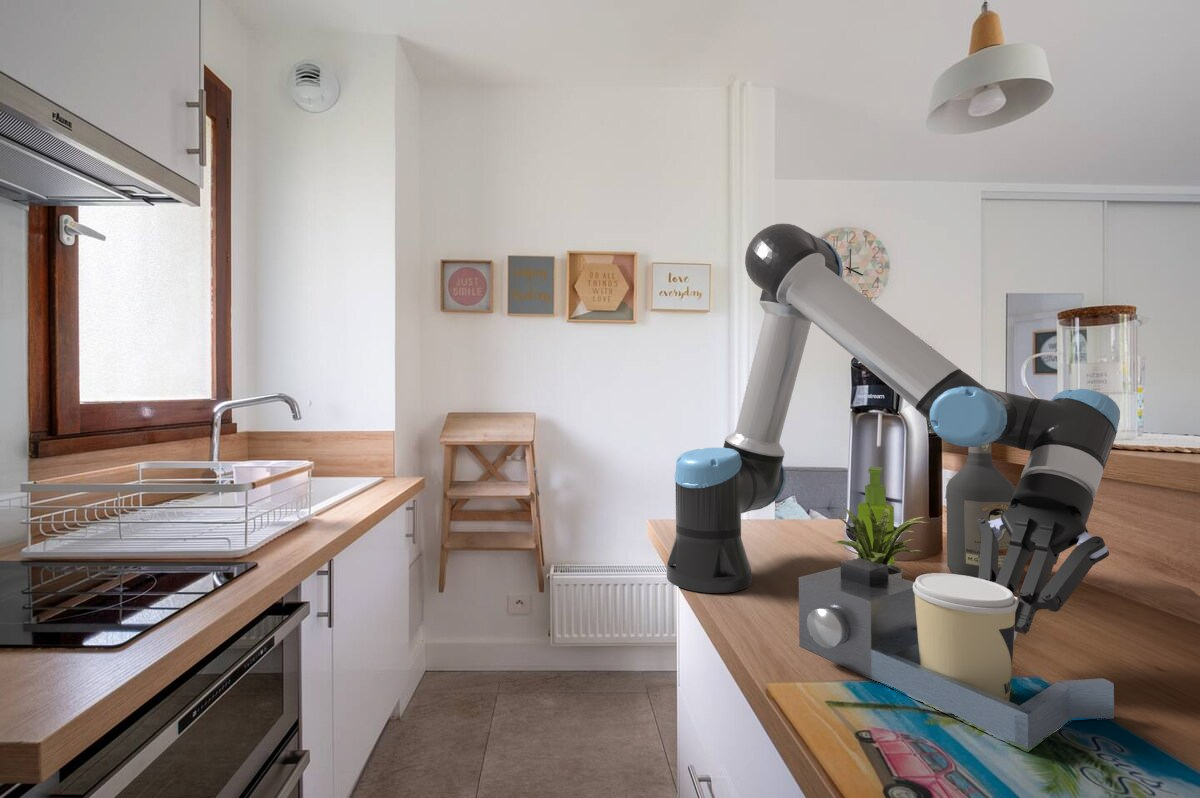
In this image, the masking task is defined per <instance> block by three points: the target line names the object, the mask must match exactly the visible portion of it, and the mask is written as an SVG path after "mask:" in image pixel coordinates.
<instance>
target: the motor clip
mask: <svg viewBox="0 0 1200 798" xmlns="http://www.w3.org/2000/svg"><path fill="white" fill-rule="evenodd" d="M914 582H915V581H912V580H907V579H904V578H903V577H902V578H898V577H894V576H891V575H888V565H884V564H880V563H876V562H873V561H869V560H865V559H861V558H858V557H857V558H854V559H849V560H846V561H841V562H840V566H838V567H834V568H830V569H826V570H822V571H818V572H815V573H810V574H806V575H803V576H799V577H798V621H799V622H798V625H799V626H798V627H799V628H798V632H799V633H798V634H799V635H798V636H799V642H798V643H799V644H798V645H799V647H801V648H803V649H805V650H807V651H809V652H812V653H813V654H816V655H818V656H821V657H822V658H825V659H827V660H829V661H831V662H833V663H834V664H837V665H839V666H841V667H843V668H845V669H848V670H850V671H852V672H854V673H857V674H859V675H860V676H863V677H865V678H867V679H868V680H871V679H872V680H871V681H873V680H876V681H878V682H881V683H884V684H887V685H889V686H891V687H894V688H896V689H898V690H900V691H902V692H906V693H908V694H910V695H912V696H914V697H916V698H918V699H921V700H923V701H925V702H927V703H929V704H932V705H934V706H936V707H938V708H942V709H943V710H945V711H947V712H950V713H952V714H954V715H955V716H958V717H960V718H962V719H964V720H966V721H967V722H970V723H971V724H974V725H975V726H977V727H980V728H982V729H985V730H986V731H989V732H991V733H993V734H996V735H998V736H1000V737H1003V738H1006V739H1008V740H1010V741H1013V742H1016V743H1017V744H1020V745H1021V746H1023V747H1025V748H1026V749H1029V748H1031V747H1032V746H1034V745H1035V744H1036V743H1038V742H1039V741H1040V740H1041V739H1043V738H1045V737H1046V736H1048V735H1049V734H1051V733H1052V732H1054V731H1056V730H1057V729H1059V728H1060V727H1061V726H1062V725H1063V724H1065V723H1066V722H1067V721H1068V720H1070V719H1073V718H1074V719H1075V718H1085V717H1086V718H1101V719H1100V720H1109V719H1115V687H1114V686H1115V683H1114V682H1112V681H1110V680H1108V679H1105V678H1104V677H1103V678H1102V677H1101V678H1089V679H1088V678H1087V679H1084V678H1083V679H1071V680H1069V679H1068V680H1059V681H1056V682H1055V683H1053V684H1051V685H1050V686H1048V687H1047V688H1045V689H1044V690H1042V691H1041V692H1039V693H1037V694H1036V695H1034V696H1033V697H1031V698H1029V699H1028V700H1027V701H1025V702H1023V703H1022V704H1020V705H1018V704H1016V703H1014V702H1012V701H1010V700H1009V701H1007V700H1004V699H1002V698H999V697H997V696H994V695H992V694H989V693H987V692H985V691H982V690H980V689H977V688H975V687H972V686H970V685H967V684H965V683H963V682H960V681H958V680H955V679H953V678H950V677H948V676H946V675H943V674H941V673H938V672H936V671H933V670H931V669H928V668H926V667H924V666H921V665H920V655H919V644H918V632H917V620H916V608H915V593H914V591H913V583H914ZM878 682H877V683H878ZM1102 718H1103V719H1102ZM1104 718H1105V719H1104Z"/></svg>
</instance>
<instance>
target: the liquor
mask: <svg viewBox="0 0 1200 798" xmlns="http://www.w3.org/2000/svg"><path fill="white" fill-rule="evenodd" d="M967 454H968V456H967V459H966V465H964V466H963V467H962V468H961V469H960V470H959V471H958V472H956V474H955V475H954V476H952V477H951V478H950V479H949V480H948V482H947V484H946V486H945V487H946V488H945V489H946V490H945V491H946V492H945V493H946V494H945V495H946V496H945V497H946V507H945V508H946V566H947V568H948V570H949V571H950V572H951V573H952V574H957V575H964V576H970V577H975V578H978V575H979V562H980V548H981V534H982V532H981V530H980V528H979V526H978V523H977V520H978V519H980V518H985V519H987V520H988V521H991V520H995V519H999V518H1001V515H1002V514H1003V513H1004V512H1005V511H1006V510H1008V509H1009V507H1010V504H1011V499H1012V497H1013V494H1014V492H1015V489H1016V487H1015V485H1014V484H1013V483H1012V482H1011V481H1010V480H1009V479H1008V478H1007V476H1005V475H1004V474H1003V473H1002V472H1001V471H1000V470H999V469H998V468H997V467H995V465H994V460H993V457H992V442H990V443H988V444H986V445H984V446H979V447H968V453H967ZM1010 538H1011V537H1010V535H1009V533H1008V532H1007V530H1006V528H1005V529H1003V530H1002V535H1001V538H1000V539H998V543H999V556H998V574H999V572H1000V569H1001V566H1002V564H1003V561H1004V559H1005V556H1006V554H1007V551H1008V549H1009V546H1010ZM997 577H998V576H997Z"/></svg>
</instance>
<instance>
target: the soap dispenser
mask: <svg viewBox="0 0 1200 798" xmlns="http://www.w3.org/2000/svg"><path fill="white" fill-rule="evenodd" d="M881 472H883V467H881V466H869V468H868V473H869V483H868V484H866V485H864V502H859V503H858V504H857V518H858V519H859V521H860V523H861V521H862V519H863V521H864V523H865V525H866V529H867V532H868V535H869V538H870V542H871V546H872V549H873V541H874V538H873V532H872V522H871V519H870V517H869V516H867V515H870V511H869V507H868V504H869V505H870V506H871V508H872V511H873V513H874V515H875V518H876V521H877V524H878V522H879V520H880V518H881V516H882V515H883V513H884V509H885V507H886V504H887V506H888V510H889V511H890V514H889V521H890V523H889V526H888V528H887V531H886V532H888V531H891V530H895V526H894V525H895V523H894V522H895V520H894V518H895V516H894V515H895V514H894V513H895V512H894V511H895V510H894V509H895V508H894V506H893V505H891V504H888V503H887V502H886V501H887V498H886V496H887V493H886V486H884V485H883V484H881ZM867 502H868V503H867ZM891 534H892V533H891ZM891 534H889V535H886V536H885V538H884V542H885V541H887V540H888V538H889V537H890V536H891ZM894 538H895V537H894ZM894 538H893V539H894ZM892 541H893V540H892ZM894 545H895V544H894ZM894 545H893V546H894ZM889 546H890V545H889ZM889 546H888V547H889ZM888 547H887V549H888ZM887 549H886V550H887ZM885 552H886V551H885ZM884 554H885V553H884ZM857 558H861V557H860V555H859V554H858V553H857ZM888 564H892V565H894V566H895V554H894V555H893V556H892V557H891V559H890V560H889V562H888Z"/></svg>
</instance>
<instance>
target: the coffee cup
mask: <svg viewBox="0 0 1200 798" xmlns="http://www.w3.org/2000/svg"><path fill="white" fill-rule="evenodd" d="M913 582H914V583H913V591H914V593H915V608H916V620H917V632H918V644H919V655H920V665H921V666H924V667H926V668H928V669H931V670H933V671H936V672H938V673H941V674H943V675H946V676H948V677H950V678H953V679H955V680H958V681H960V682H963V683H965V684H967V685H970V686H972V687H975V688H977V689H980V690H982V691H985V692H987V693H989V694H992V695H994V696H997V697H999V698H1002V699H1004V700H1007V701H1009V702H1010V698H1011V697H1010V696H1011V685H1012V683H1011V682H1012V670H1013V656H1014V643H1015V641H1014V629H1015V610H1016V609H1017V600H1016V599H1015V598H1014V597H1015V595H1013V593H1012V592H1011V591H1010V590H1009V589H1007V588H1006V587H1004V586H1002V585H999V584H997V583H994V582H991V581H988V580H984V579H980V578H975V577H970V576H964V575H957V574H955V573H943V572H941V573H939V572H936V573H935V572H931V573H925V574H921V575H919V576H916V578H915V581H913Z"/></svg>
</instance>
